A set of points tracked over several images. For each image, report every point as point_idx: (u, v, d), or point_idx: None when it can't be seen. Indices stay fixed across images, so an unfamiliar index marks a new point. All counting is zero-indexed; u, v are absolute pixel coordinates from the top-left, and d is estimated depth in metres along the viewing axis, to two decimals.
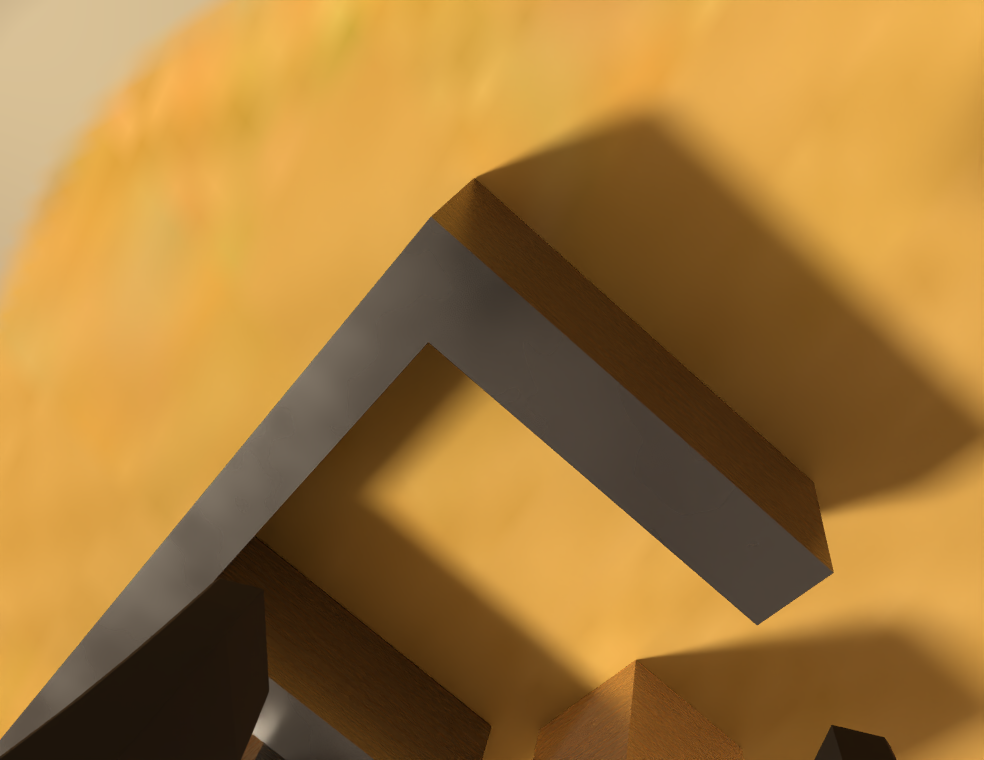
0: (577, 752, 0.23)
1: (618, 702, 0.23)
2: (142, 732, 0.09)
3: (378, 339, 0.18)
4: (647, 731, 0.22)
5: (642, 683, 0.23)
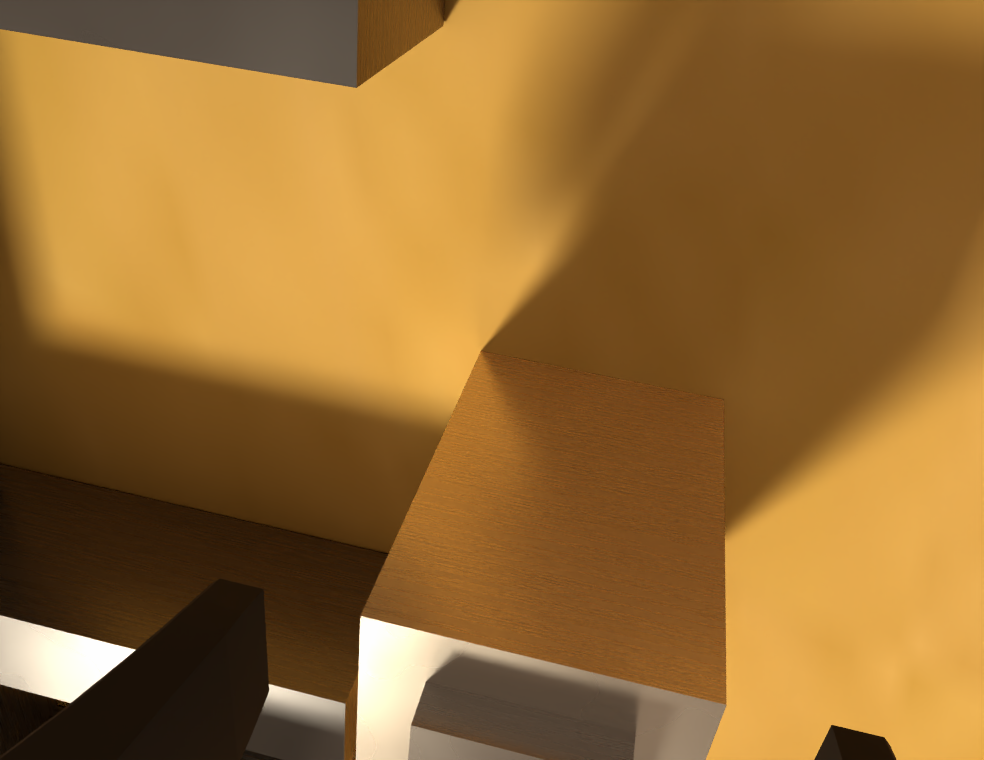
0: None
1: None
2: (142, 732, 0.09)
3: None
4: (488, 428, 0.13)
5: (491, 374, 0.14)
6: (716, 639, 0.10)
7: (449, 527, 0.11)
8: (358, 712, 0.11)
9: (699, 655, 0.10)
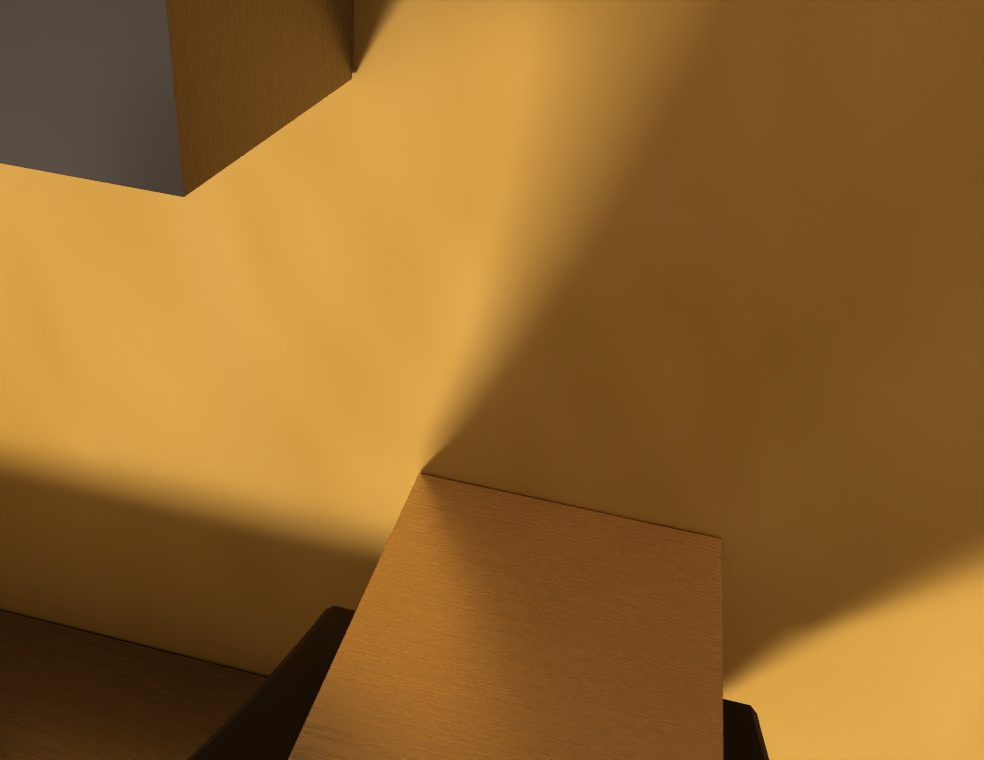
0: None
1: None
2: None
3: None
4: (417, 597, 0.10)
5: (428, 510, 0.11)
6: None
7: None
8: None
9: None
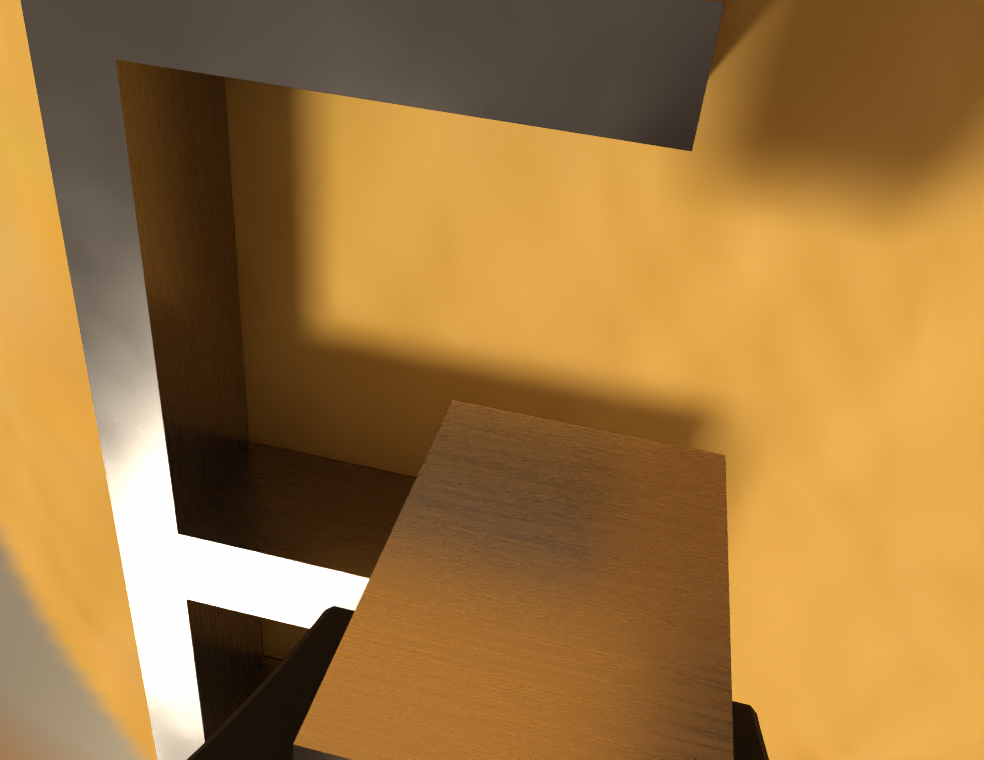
0: None
1: None
2: None
3: (76, 95, 0.14)
4: (457, 495, 0.11)
5: (463, 428, 0.13)
6: None
7: (406, 622, 0.09)
8: None
9: None
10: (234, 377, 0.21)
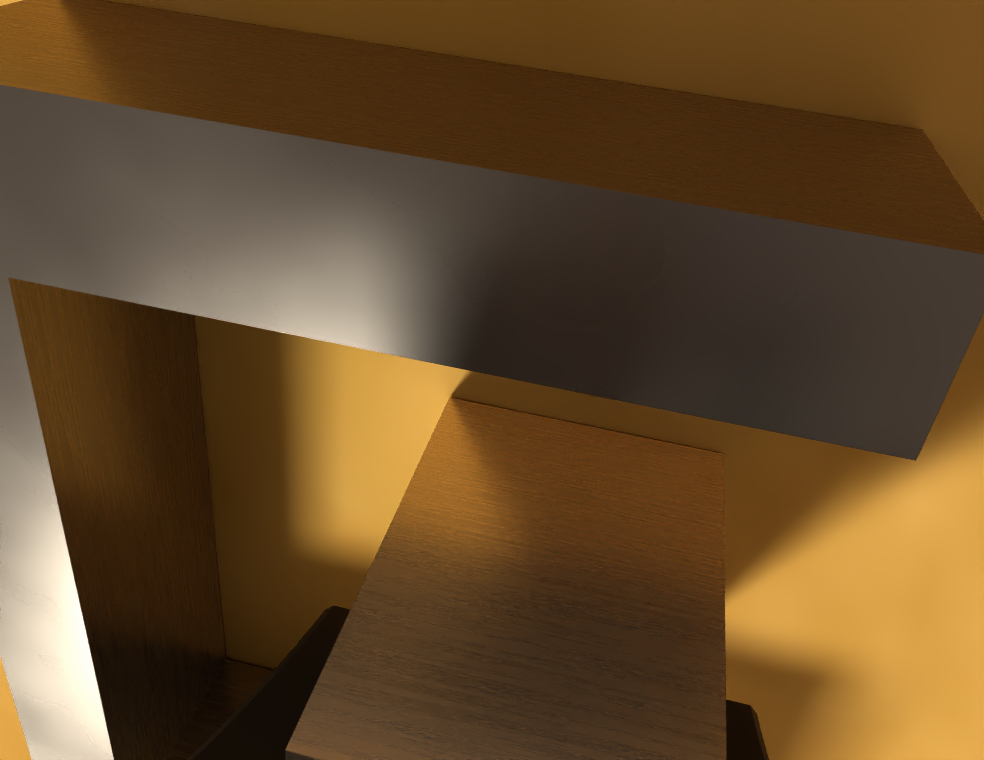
0: None
1: None
2: None
3: None
4: (452, 495, 0.11)
5: (459, 427, 0.12)
6: None
7: (400, 625, 0.09)
8: None
9: None
10: (206, 596, 0.16)
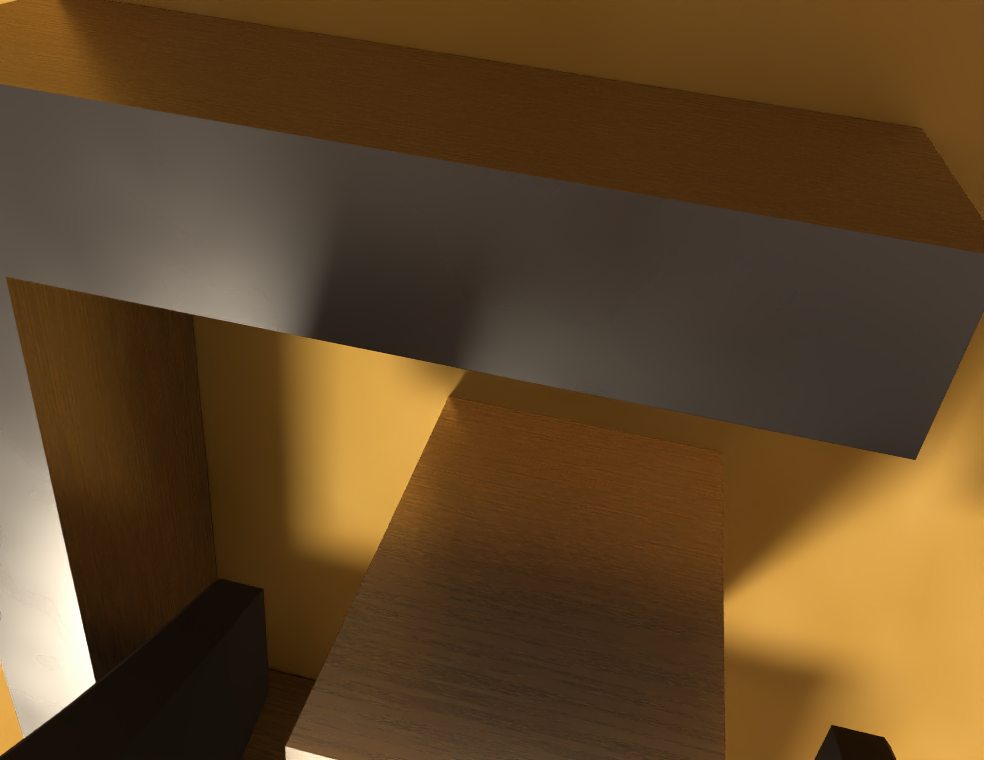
0: None
1: None
2: (142, 732, 0.09)
3: None
4: (452, 493, 0.11)
5: (458, 425, 0.13)
6: None
7: (399, 622, 0.09)
8: None
9: None
10: None
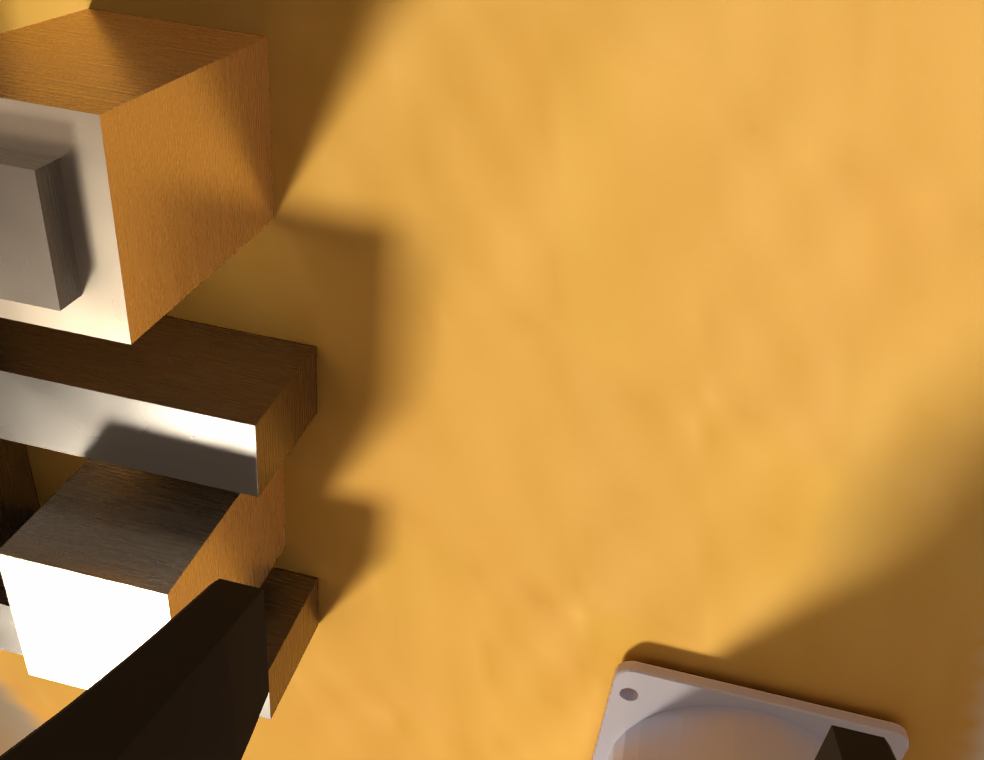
0: None
1: None
2: (142, 732, 0.09)
3: None
4: (52, 31, 0.17)
5: (84, 15, 0.18)
6: (123, 97, 0.14)
7: None
8: None
9: (103, 101, 0.14)
10: None
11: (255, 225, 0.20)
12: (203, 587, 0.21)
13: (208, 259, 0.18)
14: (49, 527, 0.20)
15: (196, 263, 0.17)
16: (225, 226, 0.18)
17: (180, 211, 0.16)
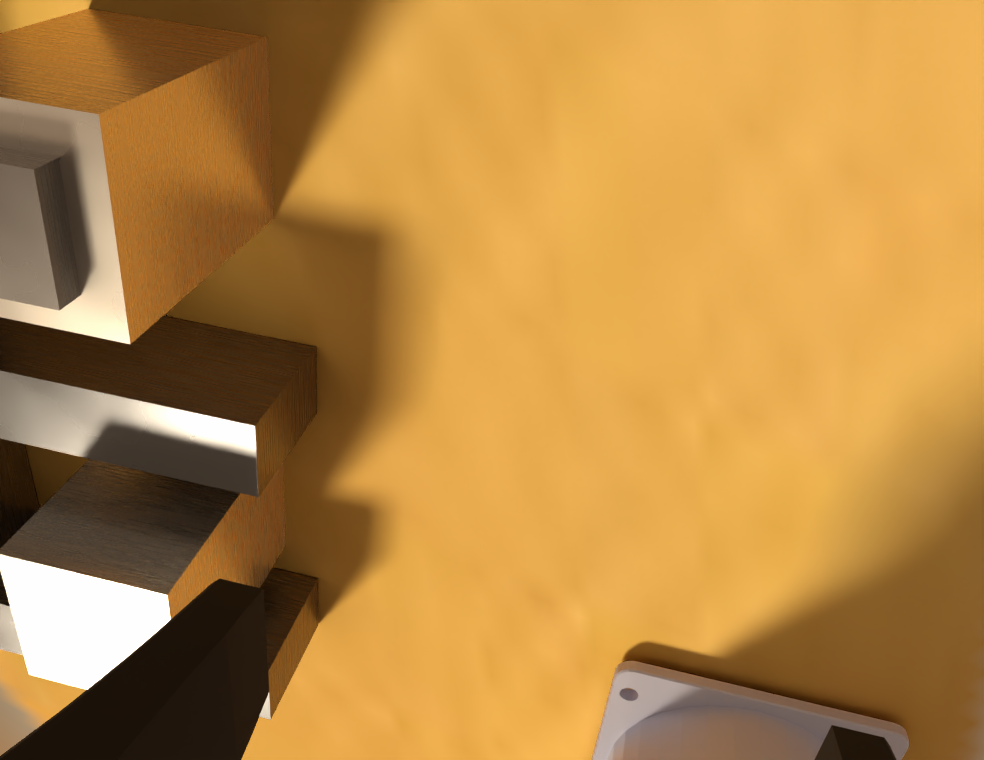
0: None
1: None
2: (142, 732, 0.09)
3: None
4: (52, 31, 0.17)
5: (84, 15, 0.18)
6: (123, 97, 0.14)
7: None
8: None
9: (102, 100, 0.14)
10: None
11: (255, 226, 0.20)
12: (203, 587, 0.21)
13: (208, 258, 0.18)
14: (49, 527, 0.20)
15: (195, 263, 0.17)
16: (223, 225, 0.18)
17: (179, 211, 0.16)
